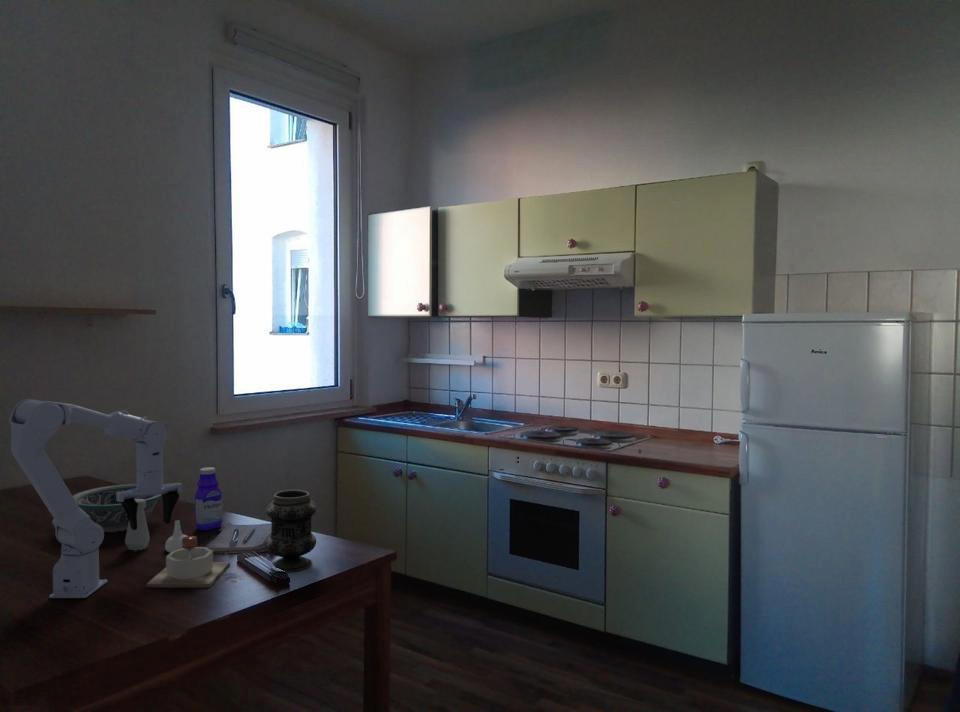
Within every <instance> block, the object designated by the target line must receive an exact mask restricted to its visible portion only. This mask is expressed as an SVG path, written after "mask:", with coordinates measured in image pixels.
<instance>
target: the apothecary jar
mask: <svg viewBox="0 0 960 712" xmlns="http://www.w3.org/2000/svg"><path fill="white" fill-rule="evenodd" d="M316 512H317V506H316V503H315V502H314V501H313V500H311V497H310V492H309V491H306V490H301V489H286V490H285V489H284V490H280V491H277V492H275V493H274V494H273V500H272V501H271V502H270V503H269V504H268V505H267V508H266V515H267V516H268V517H269V518H270V519H271V531H270V535H269V536H268V537H267V538H266V541H265V548H266V551H267V552H268V553H270V554H271V555H273V556H276V557H280V558H279V559H277V560H274V561H273V562H272V563H271V564H273V565H274V566H275V567H276V568H279V569H281V570H283V571H285V572H284V573H295V572H300V571H304V570H306V569H309V568H310V567H311V566H312V565H313V561H312V560H311V559H310V558H308V557H305V556H304V555H307V554H308V553H310V552H312V551H313V550H314V548H315V547H316V545H317V538H316V536H315V534H313V533H312V517H313V516H314V514H316Z"/></svg>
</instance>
